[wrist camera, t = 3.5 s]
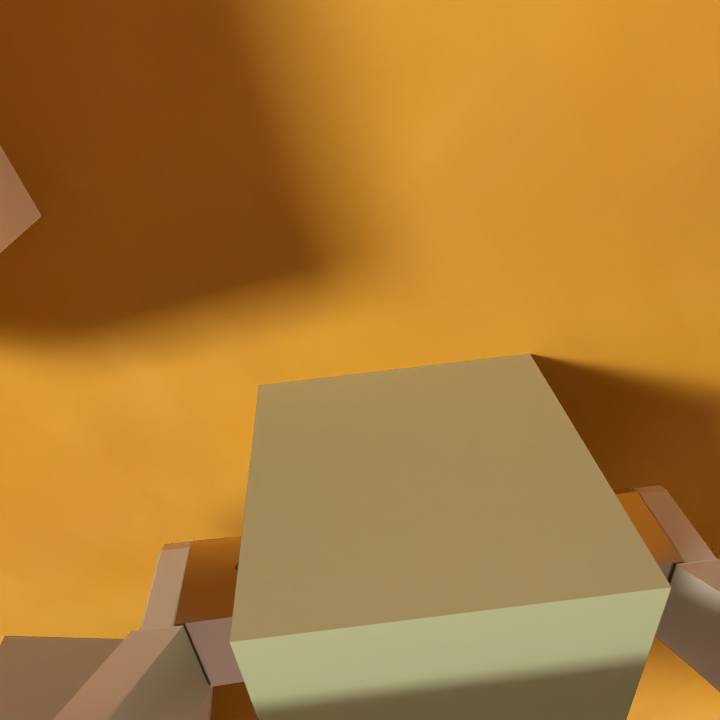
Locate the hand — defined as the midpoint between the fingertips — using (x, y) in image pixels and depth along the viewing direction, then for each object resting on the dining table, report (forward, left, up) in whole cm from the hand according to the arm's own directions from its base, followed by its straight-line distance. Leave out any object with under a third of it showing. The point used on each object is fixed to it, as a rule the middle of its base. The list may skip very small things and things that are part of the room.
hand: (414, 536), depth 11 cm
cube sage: (0, 0, -2) cm, 2 cm away
